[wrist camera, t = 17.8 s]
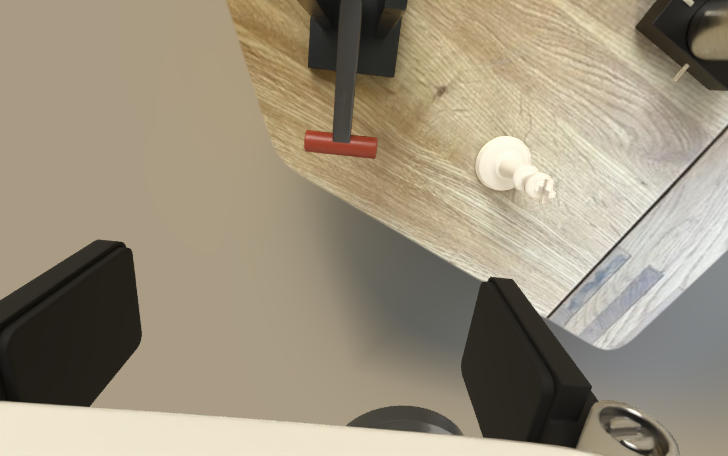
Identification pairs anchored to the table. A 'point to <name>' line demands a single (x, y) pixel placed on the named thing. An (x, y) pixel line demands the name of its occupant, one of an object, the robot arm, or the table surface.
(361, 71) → the lever bracket
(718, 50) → the knob
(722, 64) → the dial panel
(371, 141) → the lever
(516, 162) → the chess piece
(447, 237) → the table surface
